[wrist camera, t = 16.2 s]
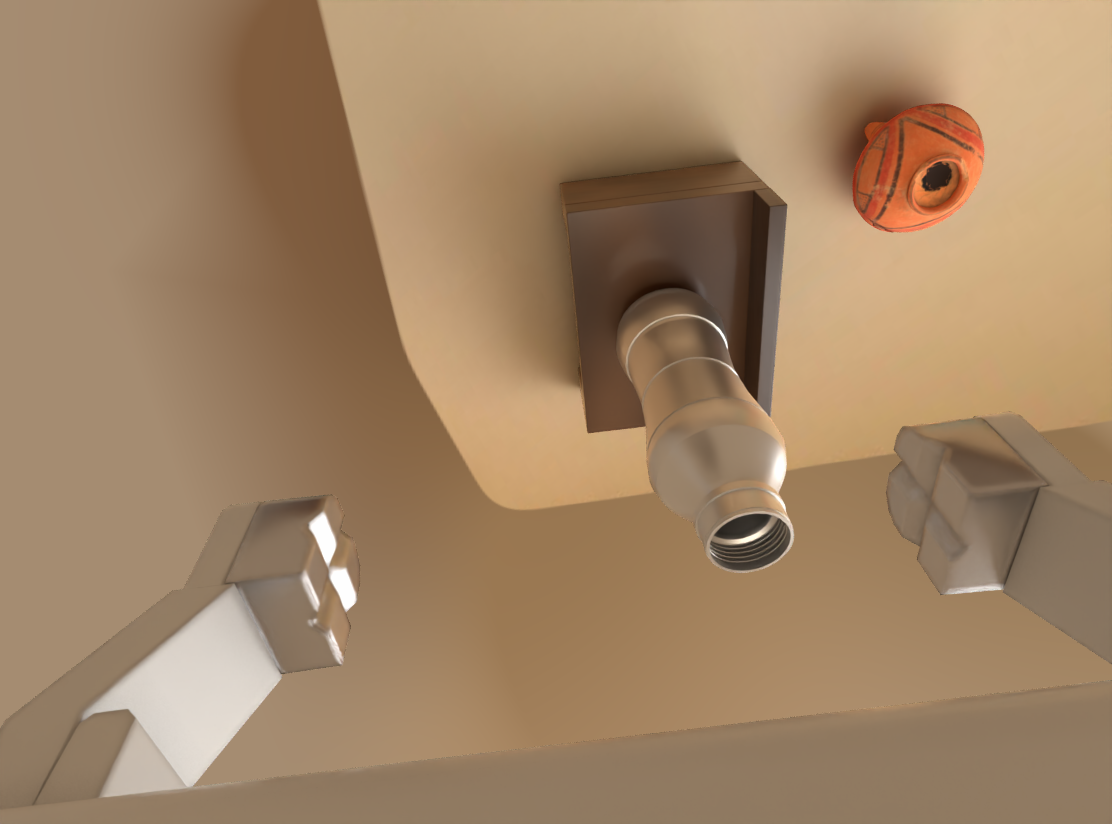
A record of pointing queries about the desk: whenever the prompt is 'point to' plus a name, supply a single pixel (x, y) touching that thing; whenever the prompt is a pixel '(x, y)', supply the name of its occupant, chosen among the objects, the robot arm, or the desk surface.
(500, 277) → the desk surface
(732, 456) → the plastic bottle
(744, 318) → the shelf
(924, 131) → the pot
